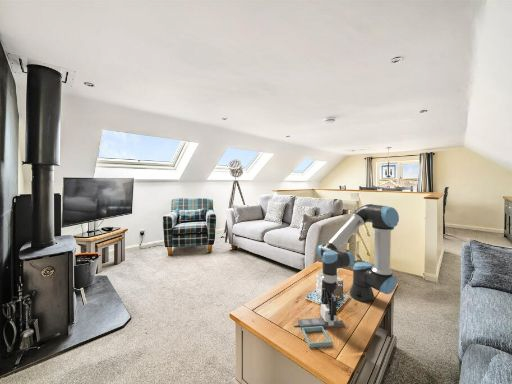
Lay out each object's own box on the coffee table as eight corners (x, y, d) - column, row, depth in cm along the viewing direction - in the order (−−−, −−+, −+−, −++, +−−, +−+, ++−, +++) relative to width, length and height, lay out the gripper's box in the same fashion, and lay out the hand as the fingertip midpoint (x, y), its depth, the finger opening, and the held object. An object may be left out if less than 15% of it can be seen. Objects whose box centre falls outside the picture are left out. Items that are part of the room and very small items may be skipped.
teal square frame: (321, 331, 117) (322, 326, 117) (331, 347, 106) (331, 341, 106) (301, 333, 116) (301, 327, 116) (309, 349, 105) (309, 343, 105)
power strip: (339, 321, 125) (339, 315, 125) (343, 328, 120) (344, 321, 120) (292, 325, 122) (292, 318, 122) (295, 331, 117) (295, 325, 117)
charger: (330, 317, 125) (331, 303, 124) (336, 324, 119) (336, 310, 118) (320, 318, 124) (320, 304, 124) (325, 325, 118) (325, 311, 118)
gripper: (315, 272, 129) (314, 310, 131) (330, 289, 110) (329, 333, 112) (328, 272, 130) (327, 309, 131) (345, 288, 111) (343, 332, 112)
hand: (328, 320), depth 122 cm, fingers closed on charger, 6 cm apart
